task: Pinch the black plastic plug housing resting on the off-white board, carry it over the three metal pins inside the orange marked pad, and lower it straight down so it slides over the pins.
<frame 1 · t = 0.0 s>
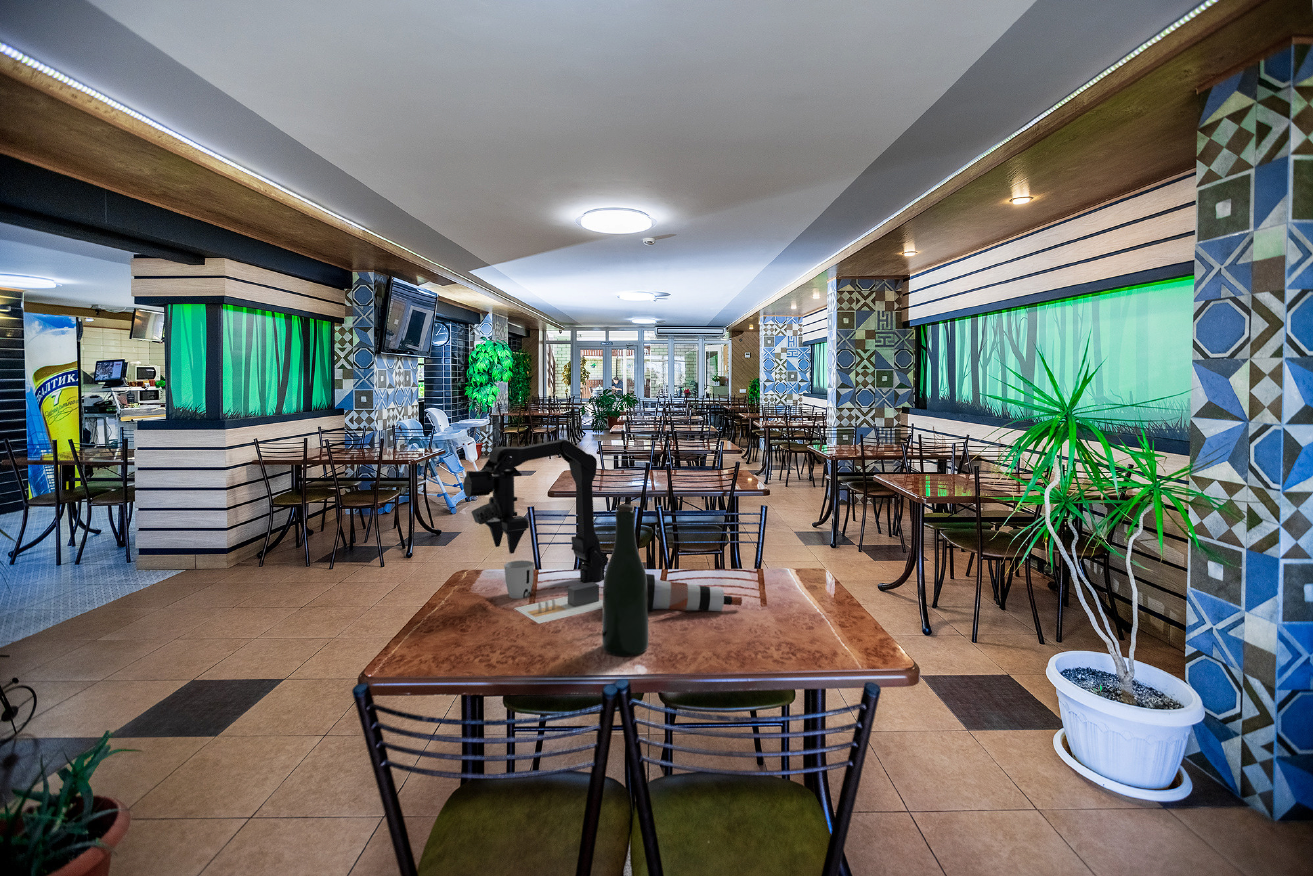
hand: (504, 550, 179), 15 cm above the table, tool pointing down, fingers open, 9 cm apart
plug housing: (583, 602, 176), point 1 cm above the table, touching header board
striped bottle lying down: (677, 612, 173), on the table
beer bottle: (625, 649, 149), on the table
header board: (563, 611, 173), on the table
cup: (519, 600, 183), on the table
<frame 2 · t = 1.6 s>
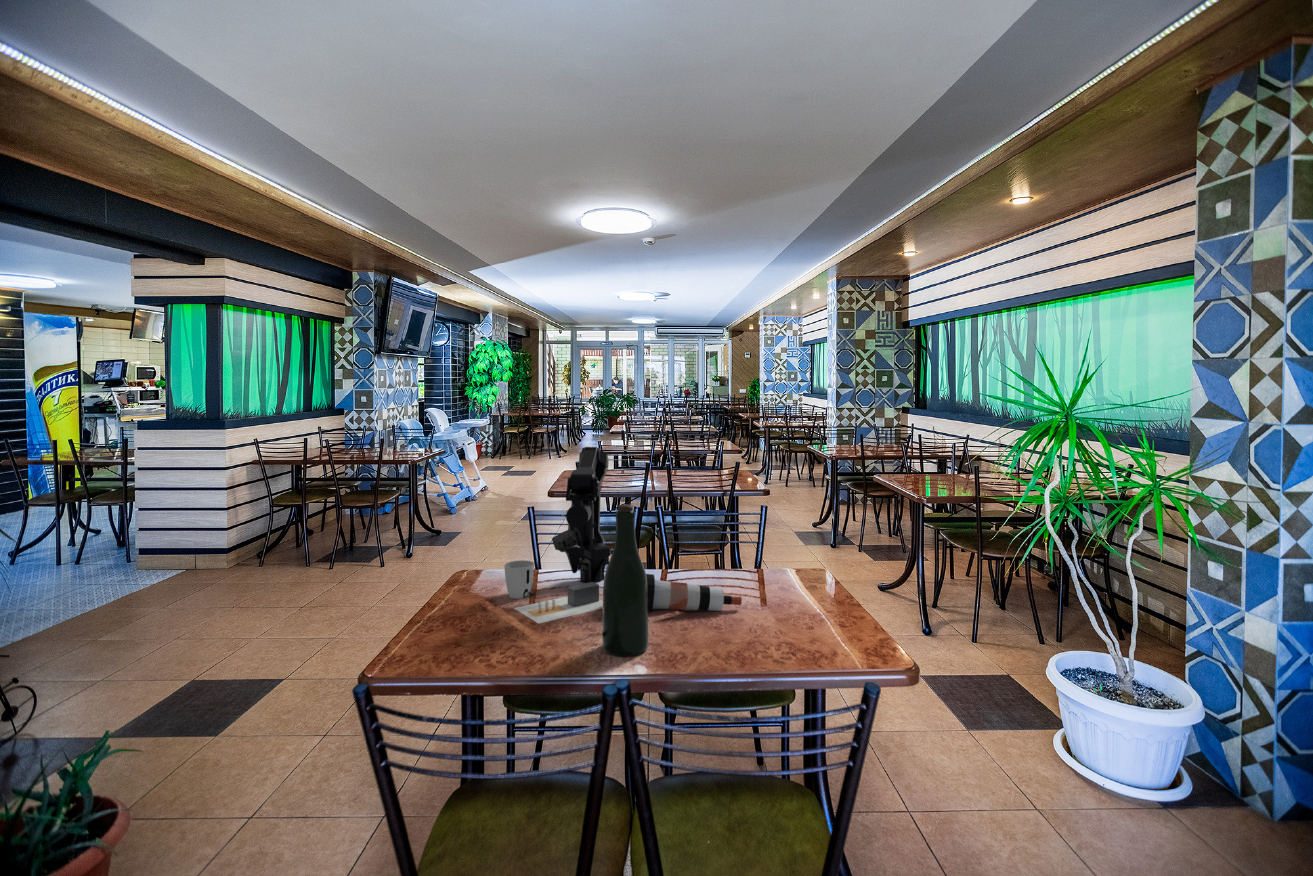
hand: (583, 576, 176), 8 cm above the table, tool pointing down, fingers open, 9 cm apart
nothing on the table moved.
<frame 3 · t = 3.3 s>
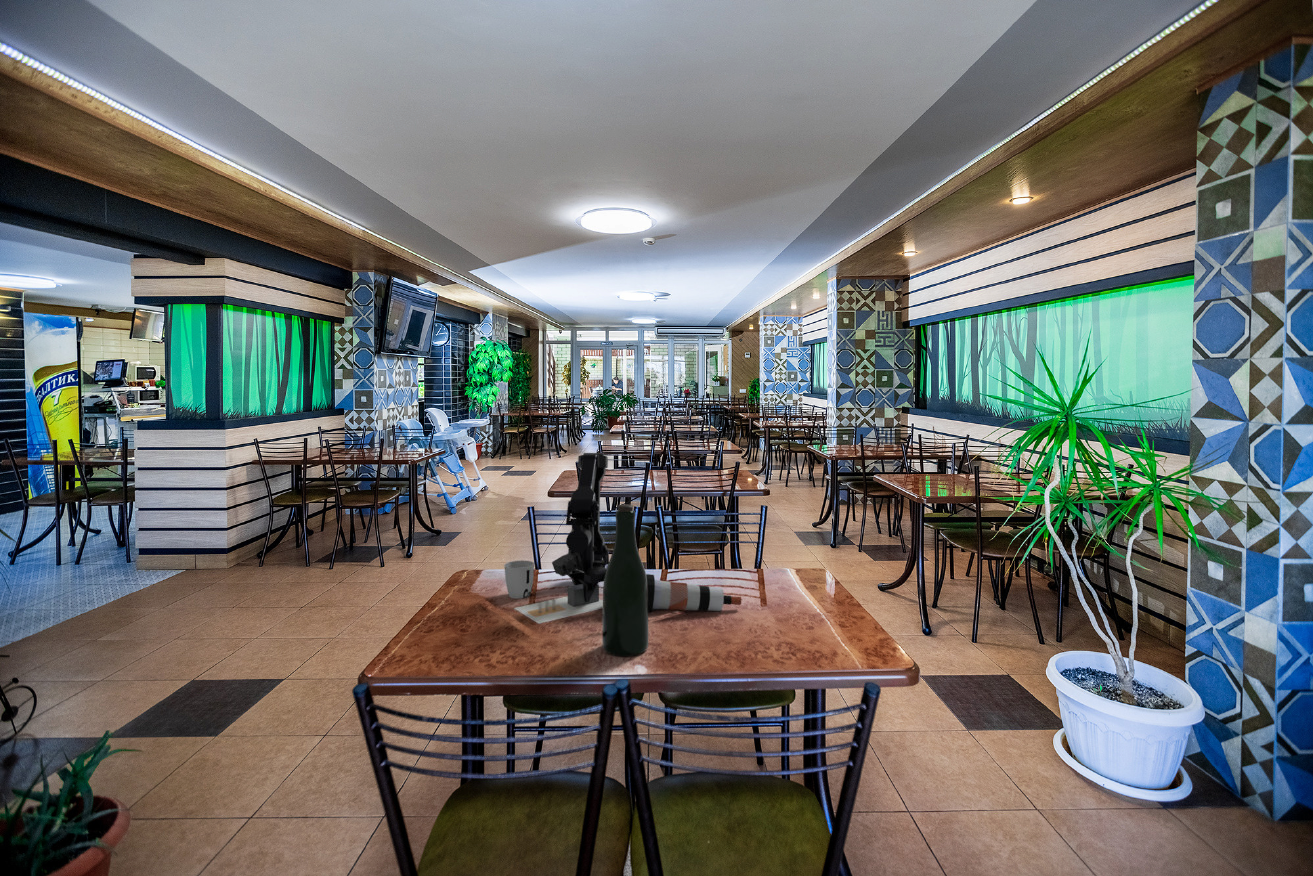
hand: (583, 600, 176), 2 cm above the table, tool pointing down, fingers closed on plug housing, 3 cm apart
plug housing: (583, 602, 176), point 1 cm above the table, touching gripper, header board
everything else where it was.
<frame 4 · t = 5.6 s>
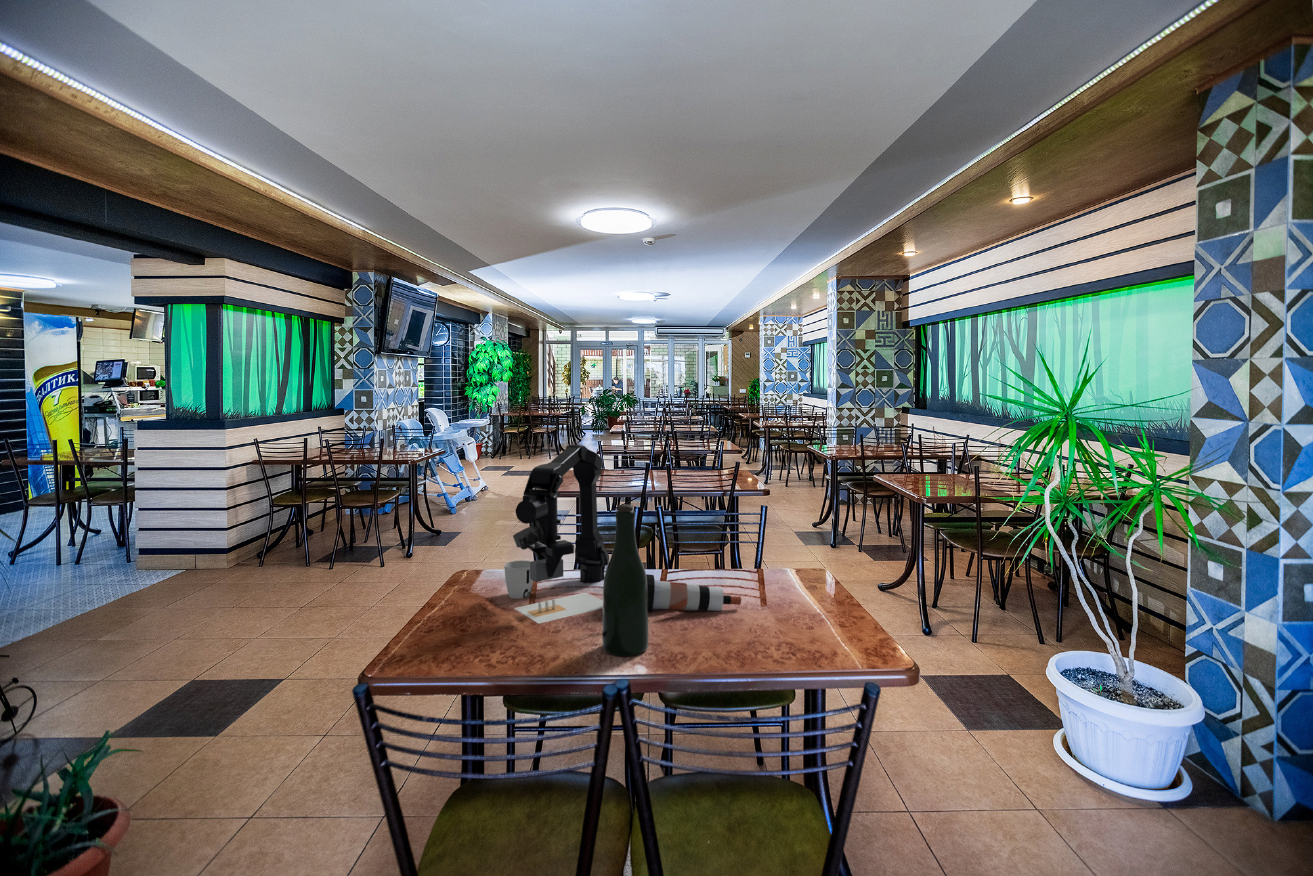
hand: (546, 575, 169), 11 cm above the table, tool pointing down, fingers closed on plug housing, 3 cm apart
plug housing: (546, 577, 169), point 10 cm above the table, touching gripper
everything else where it was.
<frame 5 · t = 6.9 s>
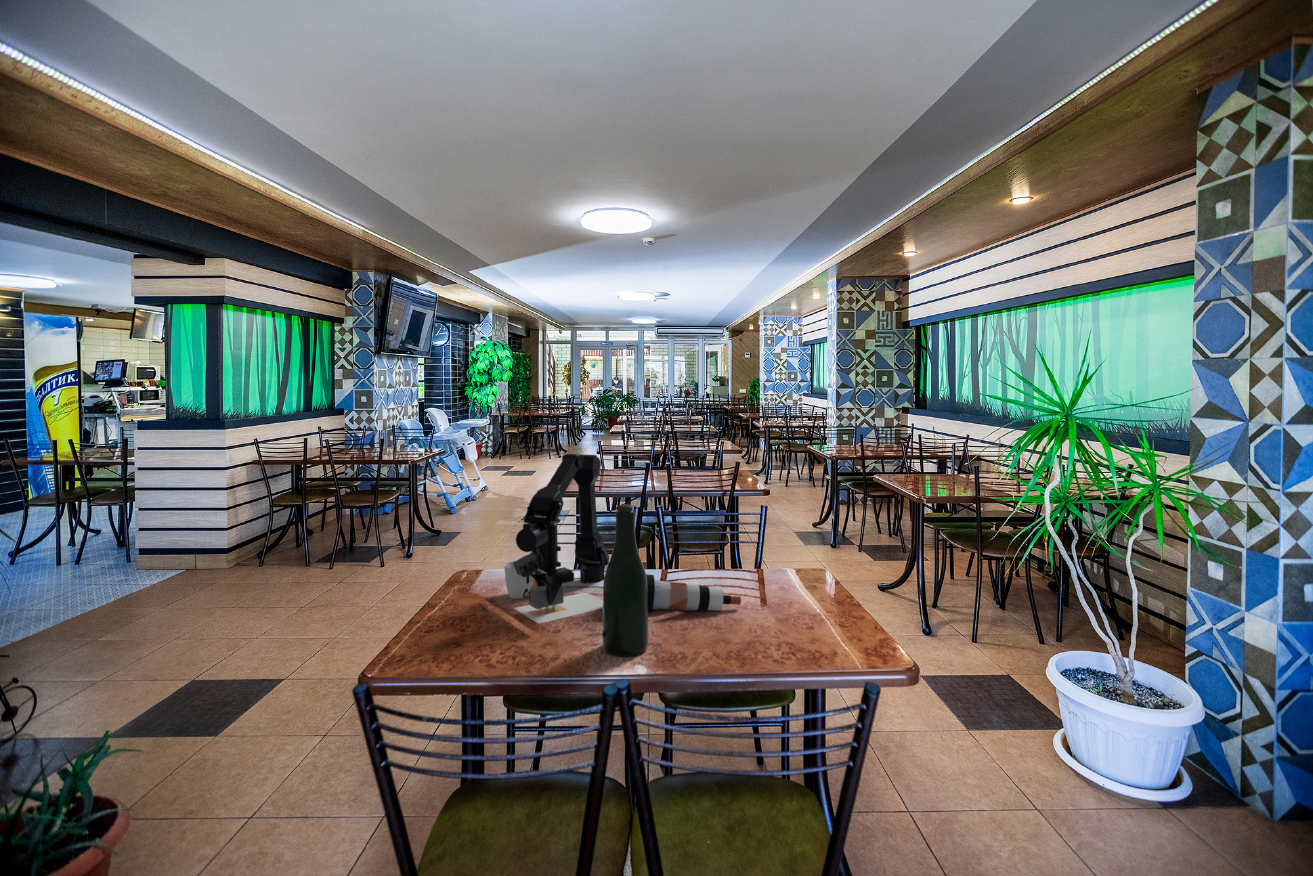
hand: (547, 602, 170), 4 cm above the table, tool pointing down, fingers closed on plug housing, 3 cm apart
plug housing: (546, 604, 170), point 3 cm above the table, touching gripper
everything else where it was.
when the fingers open (2 cm above the table, at t = 8.0 s): plug housing stays where it is, resting on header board.
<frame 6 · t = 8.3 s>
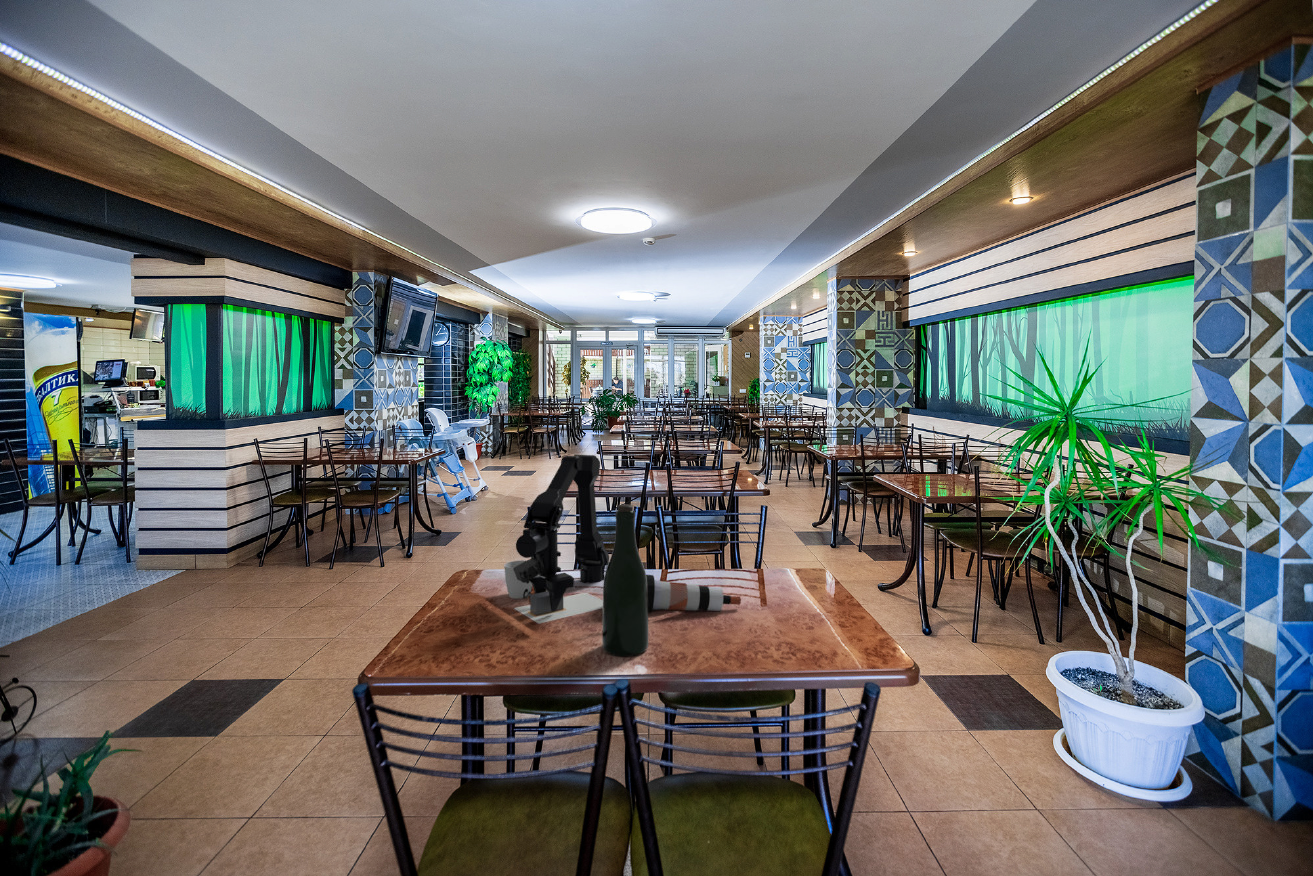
hand: (547, 607, 170), 2 cm above the table, tool pointing down, fingers open, 7 cm apart
plug housing: (547, 610, 170), point 1 cm above the table, touching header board
everything else where it was.
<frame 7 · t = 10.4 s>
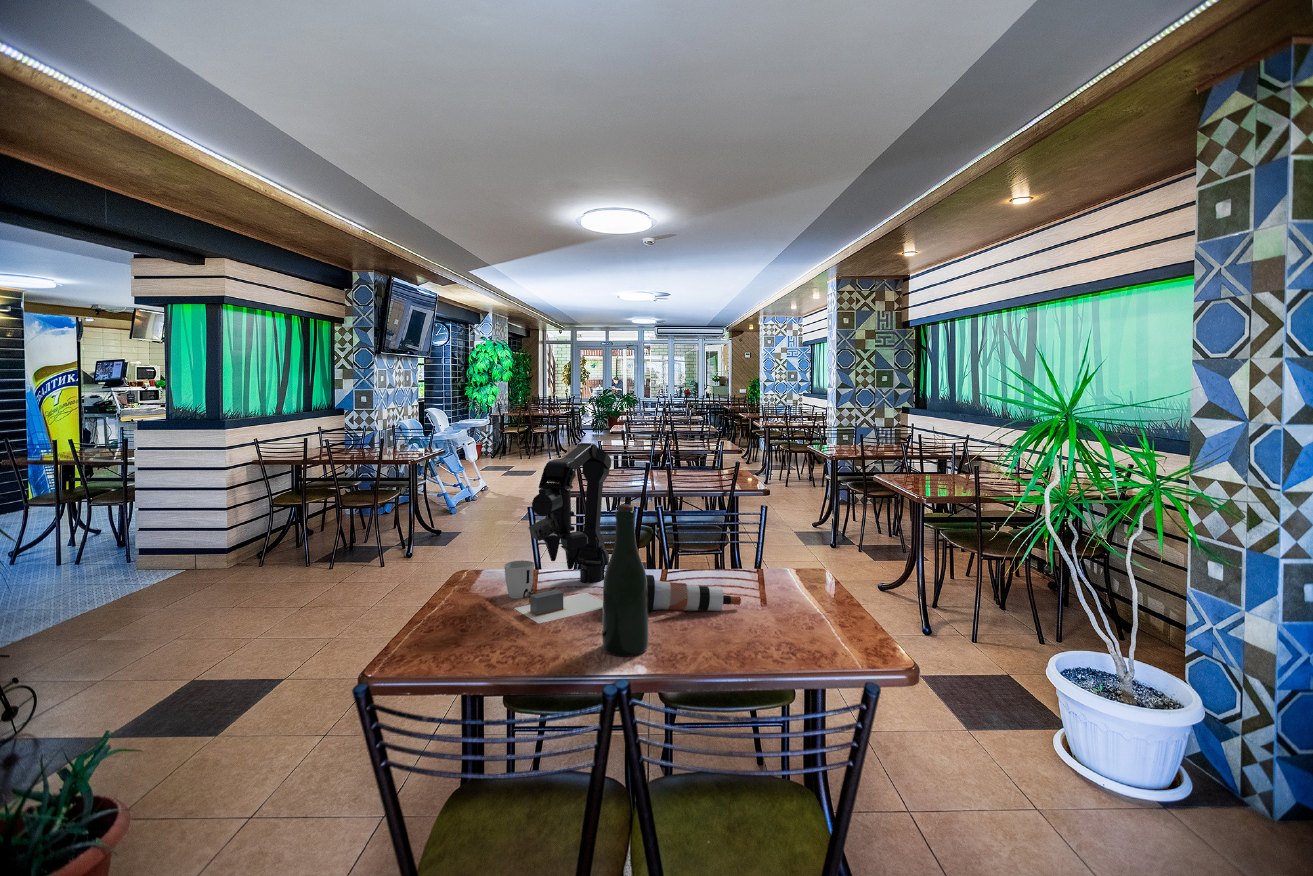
hand: (561, 565, 176), 11 cm above the table, tool pointing down, fingers open, 9 cm apart
nothing on the table moved.
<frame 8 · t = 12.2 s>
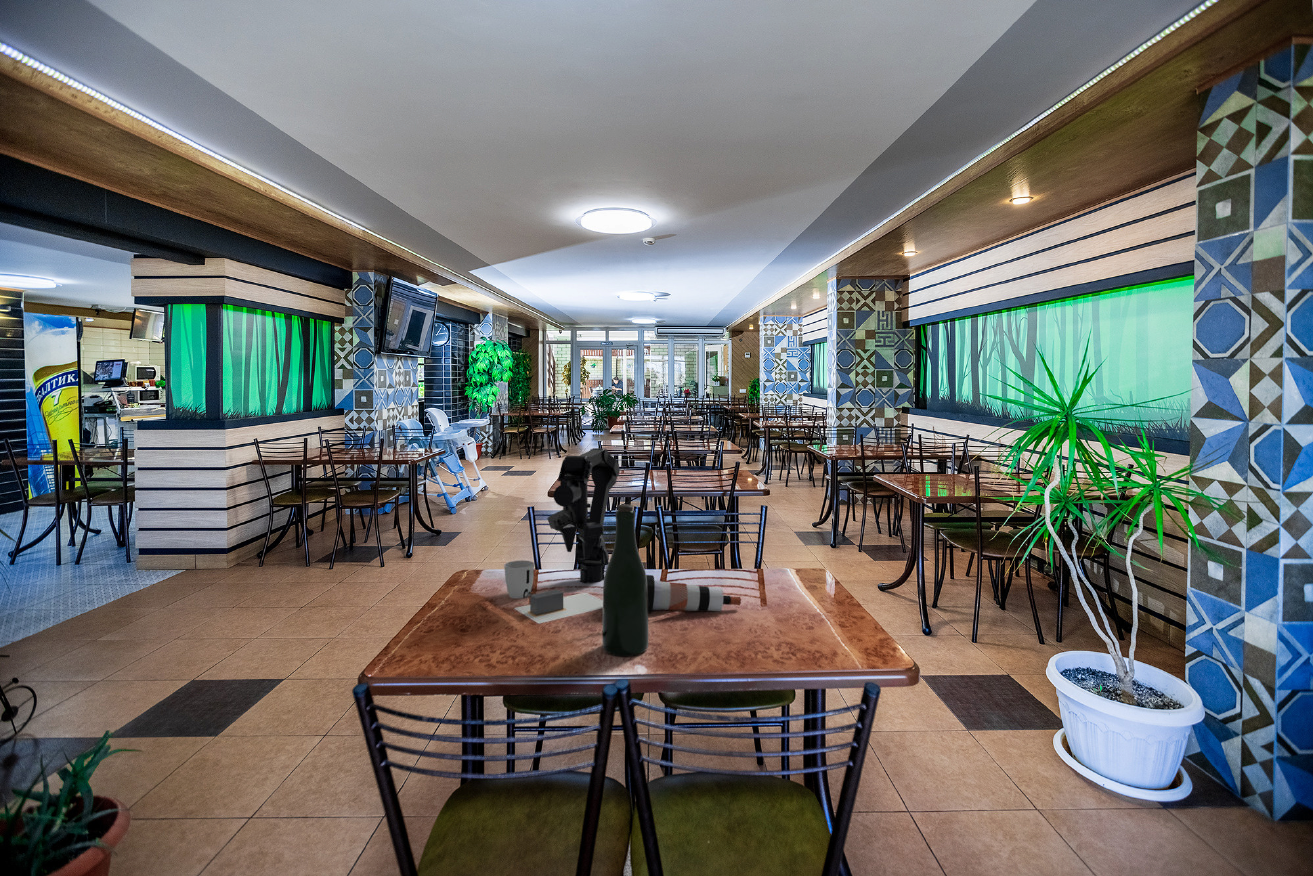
hand: (577, 555, 184), 12 cm above the table, tool pointing down, fingers open, 9 cm apart
nothing on the table moved.
at the end: plug housing 0.0 cm from the target spot on the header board, point 1.2 cm above the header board's base; plug housing tilted 0°; the gripper is holding nothing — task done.
